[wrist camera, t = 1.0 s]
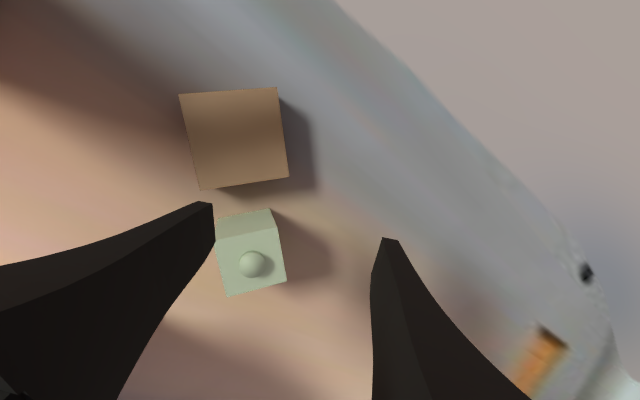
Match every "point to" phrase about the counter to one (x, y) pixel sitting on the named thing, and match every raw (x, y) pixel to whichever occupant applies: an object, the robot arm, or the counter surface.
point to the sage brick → (249, 252)
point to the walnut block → (235, 136)
